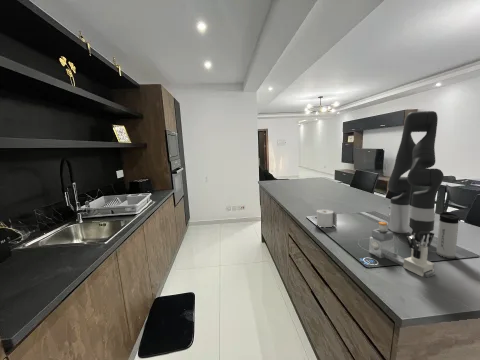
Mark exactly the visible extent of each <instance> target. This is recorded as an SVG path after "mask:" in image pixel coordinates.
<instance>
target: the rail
mask: <svg viewBox="0 0 480 360" xmlns="http://www.w3.org/2000/svg"><path fill="white" fill-rule="evenodd" d="M383 258H385V259H387V260H389V261H390V262H391V261H392V262H393V263H395V264H398V265H399V266H401V267H404V259H406V258H405V257H402V256H401V255H398V254H396V253H395V252H394V253H392V252H390V253H386V254H384V257H383ZM435 274H436V273H435V271H432V270H429V271H427V272H424V275H423V277H424V278H430V277H433V276H435Z"/></svg>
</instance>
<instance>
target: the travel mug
mask: <svg viewBox="0 0 480 360" xmlns="http://www.w3.org/2000/svg"><path fill="white" fill-rule="evenodd" d="M459 220H460V216H458V215H457V214H454V213H450V212H447V211H442V212H440V213H439V220H438V232H437V242H436V243H437V244H436V254H437V255H438V256H439V255H440V257H442V256H443V257H442V258H445V257H447V258H446V259H455V258H456V253H457V252H456V251H457V242H458V241H457V240H458V233H459V232H458V231H459V222H460V221H459Z"/></svg>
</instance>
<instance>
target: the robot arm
mask: <svg viewBox="0 0 480 360" xmlns="http://www.w3.org/2000/svg"><path fill="white" fill-rule="evenodd" d="M404 119H405V120H404V125H403V130H402V135H401V140H400V144H399V146H398V149H397V153H396V157H395V162H394V165H393V169H392V172H391V174H390V177H389V179H388V183H387V188H388V191H390V193H401V194H400V195H397V196H393V197H391V198H390V207H389V208H390V209H389V210H390V211H389V213H388V214H387V215H388V216H387V217H388V218H387V230H389V231H391V232H393V233H397V234H408V233H409V228H410V229H411V234H410V236H408V235H407V236H406V242H407V245H408V247H409V248H410V249H411V250H412V249H413V257H414V258H417V259H420V253H421V251H420V250H421V246H422V245H423V246H426V247H430V246H431V244H432V241H433V239H434V236H435V233H434V232H433V231H434V229H435V218H436V212H435V204H436V197H437V193H438V191H439V189H440V187H441V185H442V183H443V181H444V176H445V175H444V172H443V171H442V170H441V169H439V168H432V167H434V165H436V152H435V146H436V145H435V144H436V137H437V128H438V119H439V117H438V114H437V112H436V111H432V110H428V111H427V110H425V111H424V110H423V111H411V112H409V113H408V114H407V115H406V117H405V118H404ZM412 133H425V135H424V136H423V137H422V138H421V139H420V140H419V141H418V142H417V143H416V142H415V141H414V139H413V137H412ZM407 172H408V173H407ZM405 173H407V176H403V175H404V174H405ZM413 186H414V187H428V188H426V189H425V190H420V191H414V192H412V191H413V190H412V188H413ZM417 245H418V247H417Z"/></svg>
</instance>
